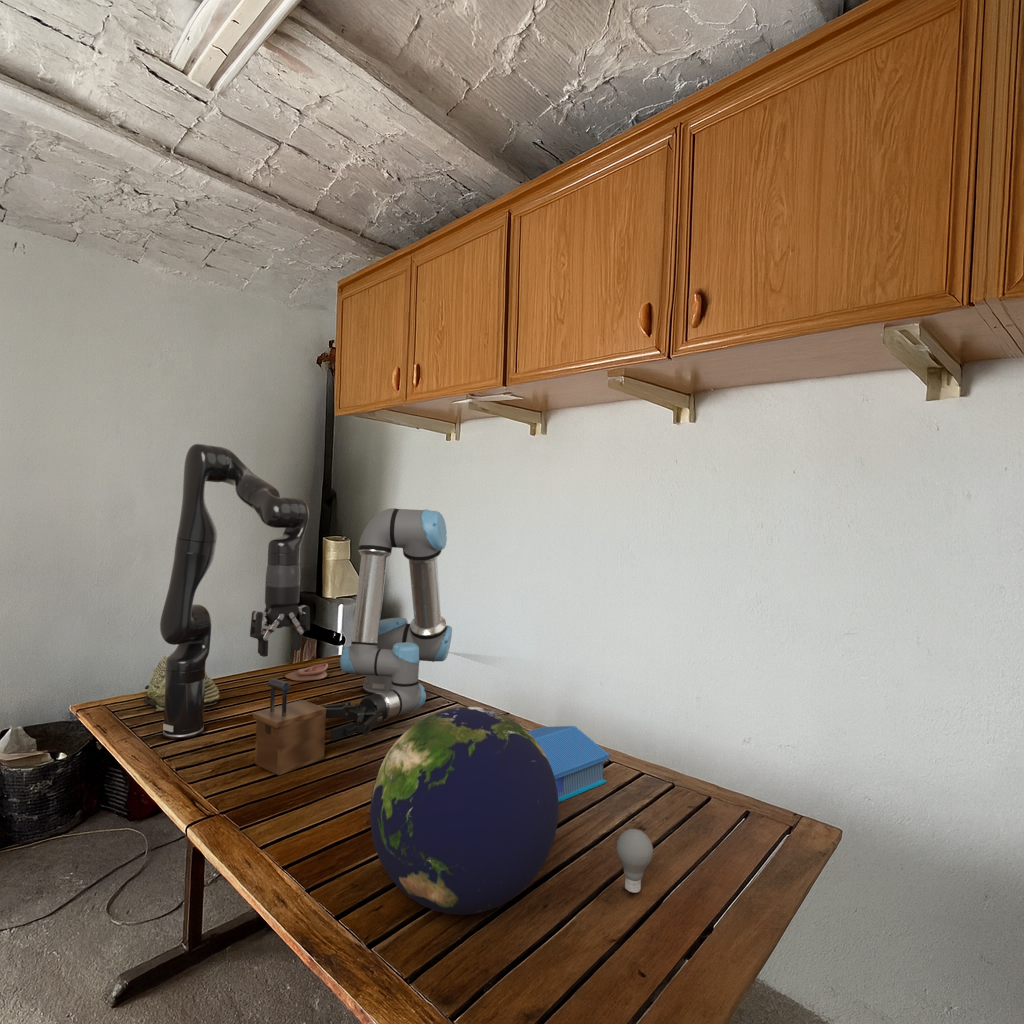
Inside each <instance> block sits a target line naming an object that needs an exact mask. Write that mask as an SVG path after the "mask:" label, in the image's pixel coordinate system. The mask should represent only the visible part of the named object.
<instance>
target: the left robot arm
mask: <svg viewBox="0 0 1024 1024" xmlns="http://www.w3.org/2000/svg"><path fill="white" fill-rule="evenodd" d="M206 482H208V483H210V482H211V483H224V484H228V485H231V486H233V487H234V490H235V491H234V492H235V494H236V496H237V497H238V498H239V500H240V501H241V502H243V503H244V504H245V505H246V506H247V507H249V508H251V509H252V510H254V512H255V513H256V515H257V516H258V518H259V519H260V521H261V522H262V523H263V524H264V525H266V526H268V527H270V528H273V529H283V528H284V529H283V531H282V534H281V535H280V536H278V537H275V538H272V539H270V540H269V541H268V545H267V560H266V561H267V566H266V572H265V584H264V585H265V586H264V587H265V588H264V591H265V592H264V604H265V608H264V611H263V610H262V611H258V610H253V611H251V616H250V617H251V619H250V627H249V628H250V629H249V637H250V638H253V639H257V653H258V655H259V656H260V657H264V658H265V657H268V655H269V640H268V639H269V637H270V636H271V634H272V633H274V632H275V631H276V629H282V628H284V627H285V628H290V629H291V631H292V632H293V633H292V635H291V637H292V638H291V650H293V651H296V652H297V651H300V650H301V648H302V645H303V644H302V642H303V634H304V633H306V632H308V631H310V630H311V607H310V605H305V604H300V605H298V604H299V603H300V594H301V593H300V590H301V587H300V586H301V567H300V562H301V559H300V558H301V545H302V542H303V539H304V536H305V533H306V530H307V526H308V522H309V519H310V511H309V506H308V505H307V503H306V502H305V501H304V499H302V498H301V497H300V498H299V497H282V496H281V494H280V492H279V490H278V489H277V488H276V487H275V486H274V485H272V484H271V483H269V482H267V481H265V480H264V479H262V478H261V477H259V476H258V475H257V474H255V473H254V472H253V471H252V470H250V468H248V466H246V464H244V462H243V461H242V460H241V459H240V458H239V457H238V456H237V455H236V454H235V453H234V452H233V451H232V450H231V449H228V448H226V447H222V446H217V445H211V444H210V445H209V444H204V443H203V444H202V443H195V444H192V445H191V446H190V447H189V448H188V450H187V452H186V455H185V459H184V465H183V482H182V500H181V508H180V516H179V524H178V529H177V533H176V540H175V547H174V553H173V554H174V555H173V562H172V567H171V574H170V580H169V585H168V589H167V594H166V596H165V601H164V604H163V608H162V612H161V616H160V621H159V631H160V635H161V637H162V639H163V641H164V642H165V643H167V644H168V645H172V646H176V645H177V646H176V647H175V650H173V652H172V653H170V654H169V655H170V656H169V657H168V658H167V660H166V674H165V705H164V710H163V723H162V725H163V728H162V737H164V738H166V739H169V740H185V739H190V738H191V739H192V738H194V737H197V736H199V735H202V734H203V732H204V730H205V729H204V727H205V725H204V722H205V721H204V718H205V706H204V693H205V672H206V664H207V663H206V662H207V659H208V657H209V654H210V649H211V639H212V617H211V614H210V612H209V610H208V609H207V608H206V607H205V606H203V605H201V604H196V603H195V604H194V599H195V595H196V592H197V589H198V587H199V585H200V584H201V582H202V580H203V579H204V577H205V576H206V574H207V573H208V571H209V569H210V567H211V565H212V563H213V561H214V558H215V554H216V548H217V540H218V531H217V527H216V525H215V522H214V521H213V517H212V516H211V514H210V512H209V510H208V507H207V504H206V500H205V498H206V497H205V491H206V490H205V488H206ZM298 615H299V620H298V619H297V616H298ZM264 620H265V621H264ZM263 621H264V622H263ZM148 688H149V684H147V685H146V686H145V688H144V690H148ZM144 702H145V703H146V704H148V705H149V706H152V707H154V708H156V706H155V703H154V702H153V701H152V700H150V698H149V697H148V695H146V696H145V697H144Z"/></svg>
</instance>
